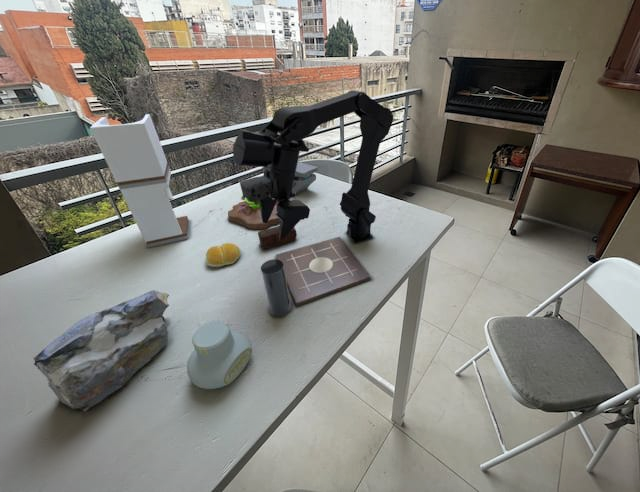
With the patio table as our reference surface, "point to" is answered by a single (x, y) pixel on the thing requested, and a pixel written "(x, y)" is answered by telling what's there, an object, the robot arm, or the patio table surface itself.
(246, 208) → the plant
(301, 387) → the patio table surface
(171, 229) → the white box tower
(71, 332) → the fossil rock
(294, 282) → the grid board
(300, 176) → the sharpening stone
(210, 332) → the air freshener
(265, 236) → the brick
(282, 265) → the dark gray cylindrical container
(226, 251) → the bread roll
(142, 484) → the patio table surface
